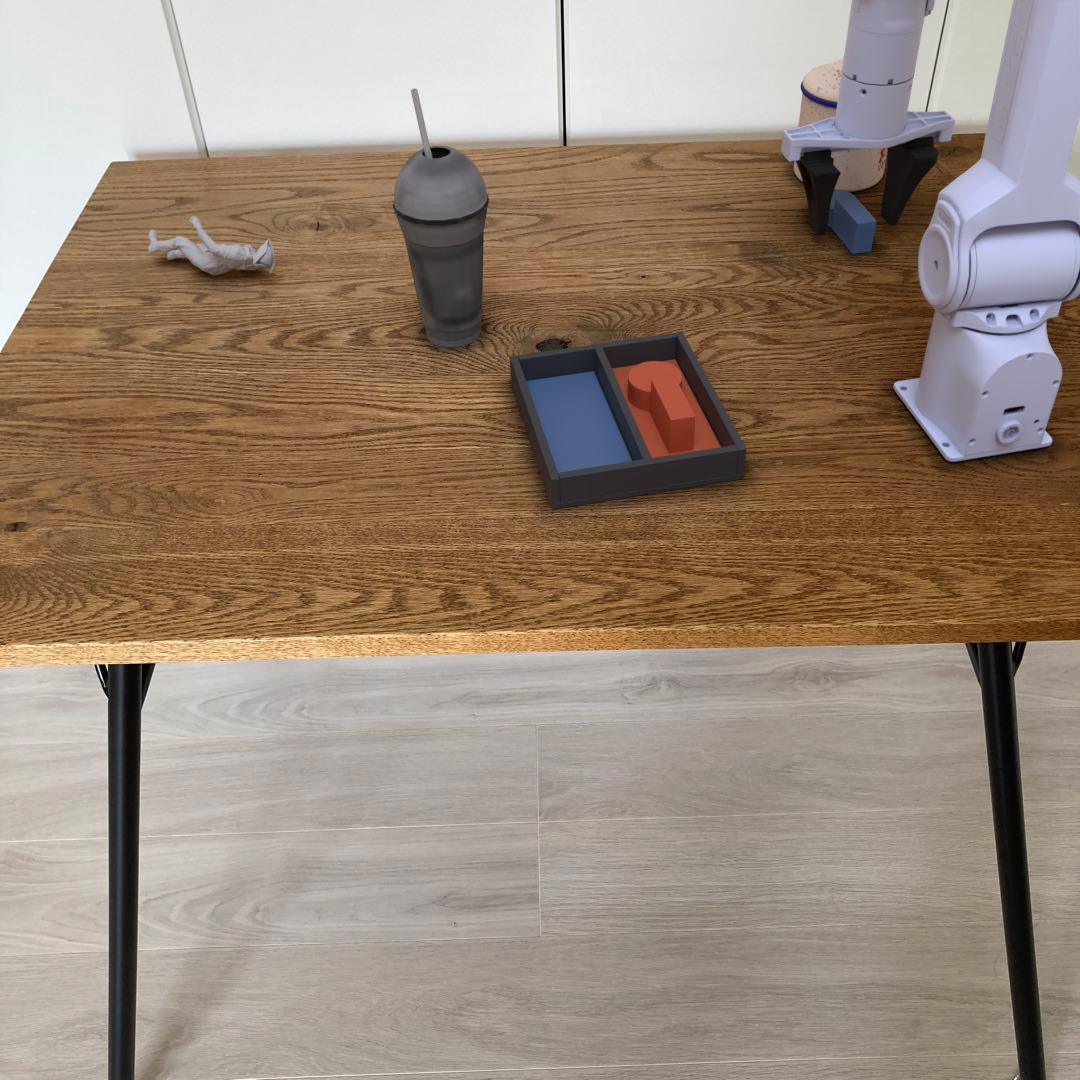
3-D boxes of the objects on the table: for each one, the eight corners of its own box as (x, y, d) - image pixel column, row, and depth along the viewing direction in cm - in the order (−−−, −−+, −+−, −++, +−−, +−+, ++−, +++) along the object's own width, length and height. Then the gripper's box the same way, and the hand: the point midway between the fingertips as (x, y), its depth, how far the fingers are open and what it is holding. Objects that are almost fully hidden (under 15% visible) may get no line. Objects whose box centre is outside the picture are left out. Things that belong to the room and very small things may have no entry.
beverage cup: (486, 361, 94) (467, 114, 80) (398, 353, 95) (365, 108, 81) (506, 312, 99) (492, 72, 85) (422, 305, 100) (395, 68, 86)
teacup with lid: (899, 190, 112) (921, 67, 105) (805, 198, 112) (821, 75, 104) (858, 137, 121) (876, 20, 113) (771, 145, 121) (784, 27, 113)
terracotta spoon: (708, 447, 84) (711, 413, 81) (653, 456, 83) (655, 422, 81) (672, 377, 90) (674, 343, 88) (621, 384, 89) (622, 351, 87)
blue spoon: (883, 250, 104) (889, 219, 102) (840, 256, 104) (845, 225, 102) (844, 204, 111) (848, 174, 109) (803, 209, 110) (807, 179, 108)
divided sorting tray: (743, 479, 82) (746, 448, 80) (552, 509, 80) (551, 479, 78) (680, 360, 93) (682, 331, 91) (511, 385, 91) (509, 355, 89)
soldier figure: (197, 250, 110) (300, 228, 105) (195, 300, 110) (299, 281, 104) (134, 222, 103) (241, 197, 98) (132, 276, 103) (239, 254, 97)
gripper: (939, 44, 100) (910, 195, 109) (775, 63, 98) (760, 214, 107) (978, 76, 94) (944, 231, 104) (806, 96, 93) (787, 252, 102)
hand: (853, 225), depth 105 cm, fingers open, 6 cm apart
